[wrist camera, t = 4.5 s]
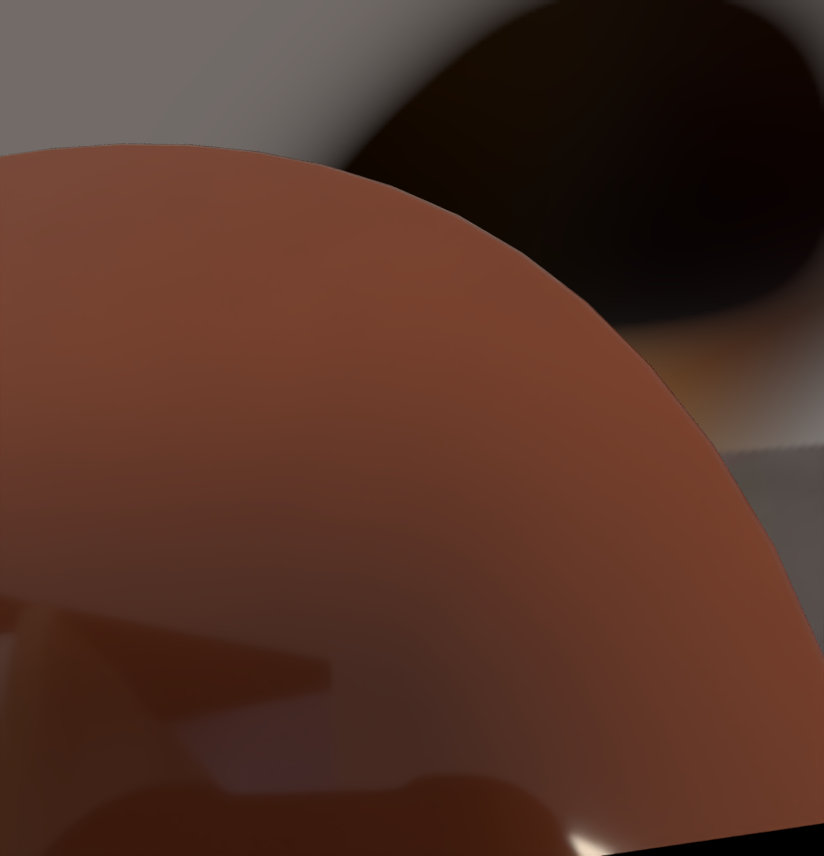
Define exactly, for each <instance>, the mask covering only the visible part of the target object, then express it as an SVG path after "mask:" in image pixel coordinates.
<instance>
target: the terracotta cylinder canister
mask: <svg viewBox="0 0 824 856" xmlns="http://www.w3.org/2000/svg"><path fill="white" fill-rule="evenodd" d="M0 856H824V655H823V653H822V651H821V649H820V646H819V644H818V642H817V640H816V637H815V635H814V633H813V631H812V628H811V626H810V624H809V622H808V620H807V617H806V615H805V613H804V611H803V608H802V606H801V604H800V602H799V599H798V597H797V595H796V593H795V590H794V588H793V586H792V584H791V582H790V579H789V577H788V575H787V573H786V570H785V568H784V566H783V564H782V561H781V559H780V557H779V555H778V552H777V550H776V548H775V546H774V544H773V542H772V541H771V539H770V537H769V536H768V534H767V532H766V531H765V529H764V527H763V526H762V524H761V522H760V521H759V519H758V517H757V516H756V514H755V512H754V511H753V509H752V507H751V506H750V504H749V502H748V501H747V499H746V497H745V496H744V494H743V492H742V491H741V489H740V487H739V486H738V484H737V482H736V481H735V479H734V477H733V476H732V474H731V473H730V471H729V469H728V468H727V466H726V464H725V463H724V461H723V459H722V458H721V456H720V454H719V453H718V451H717V449H716V448H715V446H714V444H713V443H712V442H711V441H710V439H709V438H708V437H707V436H706V434H705V433H704V432H703V431H702V429H701V428H700V427H699V425H698V424H697V423H696V422H695V420H694V419H693V418H692V417H691V415H690V414H689V413H688V412H687V410H686V409H685V408H684V406H683V405H682V404H681V403H680V401H679V400H678V399H677V398H676V396H675V395H674V394H673V392H672V391H671V390H670V389H669V387H668V386H667V385H666V384H665V383H664V381H663V380H662V379H661V377H660V376H659V375H658V373H657V372H656V371H655V370H654V368H653V367H652V366H651V365H650V364H649V363H648V362H647V361H646V360H645V359H644V358H643V357H642V356H641V355H640V354H639V353H638V352H637V351H636V350H635V349H634V348H633V347H632V346H631V345H630V344H629V343H628V342H627V341H626V340H625V339H624V338H623V337H622V336H621V335H620V334H619V333H618V332H617V331H616V330H615V329H614V328H613V327H612V326H611V325H610V324H609V323H608V322H607V321H605V320H604V319H603V317H601V316H600V315H599V314H598V313H597V312H596V311H595V310H594V309H593V308H592V307H591V306H590V305H589V304H588V303H587V302H586V301H585V300H583V299H582V298H581V297H579V296H578V295H577V294H575V293H574V292H573V291H572V290H570V289H569V288H568V287H566V286H565V285H564V284H562V283H561V282H560V281H558V280H557V279H556V278H554V277H553V276H552V275H550V274H549V273H548V272H547V271H545V270H544V269H543V268H541V267H540V266H539V265H538V264H536V263H535V262H534V261H532V260H531V259H530V258H528V257H527V256H526V255H524V254H523V253H522V252H520V251H518V250H517V249H515V248H513V247H511V246H510V245H508V244H506V243H505V242H503V241H501V240H500V239H498V238H496V237H494V236H492V235H491V234H489V233H488V232H486V231H484V230H482V229H480V228H479V227H477V226H476V225H474V224H472V223H471V222H469V221H467V220H465V219H464V218H462V217H460V216H459V215H457V214H454V213H452V212H450V211H447V210H445V209H443V208H441V207H439V206H436V205H434V204H432V203H430V202H427V201H425V200H423V199H420V198H418V197H416V196H414V195H411V194H409V193H406V192H404V191H402V190H400V189H398V188H395V187H393V186H391V185H387V184H384V183H381V182H378V181H375V180H371V179H368V178H365V177H361V176H358V175H356V174H352V173H349V172H346V171H343V170H340V169H336V168H333V167H330V166H327V165H323V164H318V163H313V162H308V161H303V160H298V159H293V158H288V157H283V156H278V155H273V154H268V153H263V152H258V151H249V150H239V149H230V148H220V147H211V146H210V147H209V146H200V145H190V144H189V145H188V144H187V145H186V144H125V143H123V144H108V145H94V146H79V147H63V148H51V149H44V150H37V151H31V152H24V153H17V154H10V155H4V156H0Z"/></svg>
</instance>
